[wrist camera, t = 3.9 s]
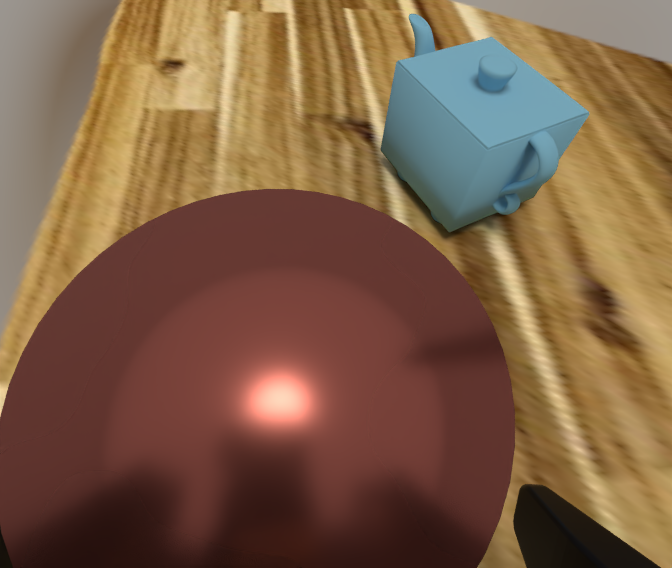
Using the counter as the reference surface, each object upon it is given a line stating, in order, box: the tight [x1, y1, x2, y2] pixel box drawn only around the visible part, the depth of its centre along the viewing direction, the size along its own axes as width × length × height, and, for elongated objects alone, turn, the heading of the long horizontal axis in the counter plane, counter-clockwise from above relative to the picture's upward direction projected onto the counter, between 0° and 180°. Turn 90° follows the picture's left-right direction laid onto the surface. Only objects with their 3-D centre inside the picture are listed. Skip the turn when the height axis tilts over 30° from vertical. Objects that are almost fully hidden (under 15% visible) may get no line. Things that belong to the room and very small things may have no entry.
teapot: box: [381, 14, 589, 232], centre depth 21 cm, size 12×6×8 cm, turn 28°
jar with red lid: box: [0, 189, 515, 568], centre depth 9 cm, size 5×5×14 cm
